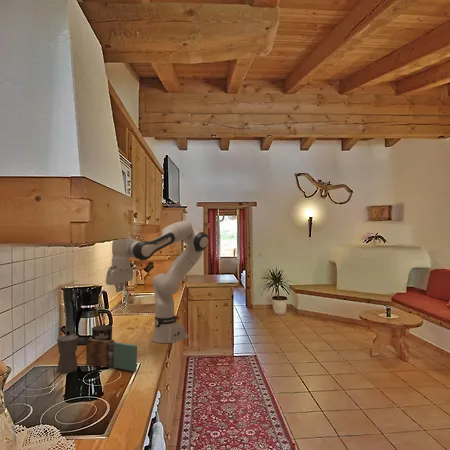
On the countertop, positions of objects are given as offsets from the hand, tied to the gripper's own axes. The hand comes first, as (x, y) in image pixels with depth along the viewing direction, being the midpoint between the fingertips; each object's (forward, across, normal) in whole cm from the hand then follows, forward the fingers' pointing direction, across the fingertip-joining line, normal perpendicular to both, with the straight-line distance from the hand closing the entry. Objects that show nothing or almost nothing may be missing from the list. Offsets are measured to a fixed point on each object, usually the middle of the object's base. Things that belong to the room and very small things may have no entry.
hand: (119, 291), depth 191 cm
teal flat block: (+33, -17, -13) cm, 39 cm away
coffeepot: (+34, -25, +10) cm, 43 cm away
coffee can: (+33, -3, +8) cm, 34 cm away
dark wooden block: (+33, -17, -1) cm, 37 cm away
